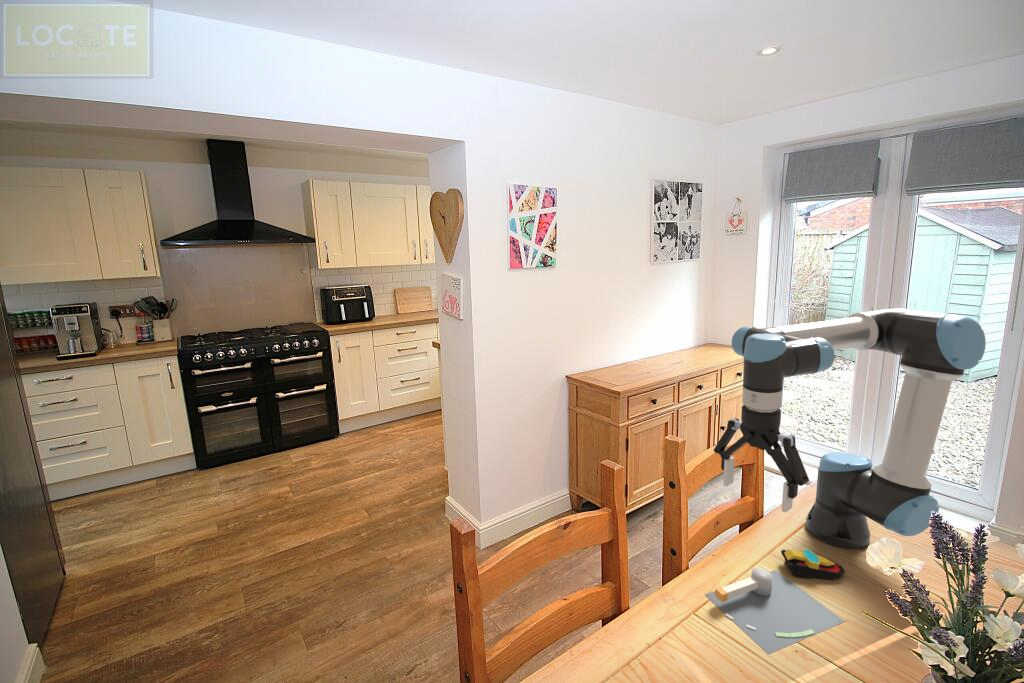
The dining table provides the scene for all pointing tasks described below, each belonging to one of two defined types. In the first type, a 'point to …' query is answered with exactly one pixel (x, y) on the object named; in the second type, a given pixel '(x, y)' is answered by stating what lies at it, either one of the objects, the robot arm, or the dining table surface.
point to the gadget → (811, 565)
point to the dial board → (777, 614)
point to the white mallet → (747, 586)
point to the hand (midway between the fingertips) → (756, 496)
